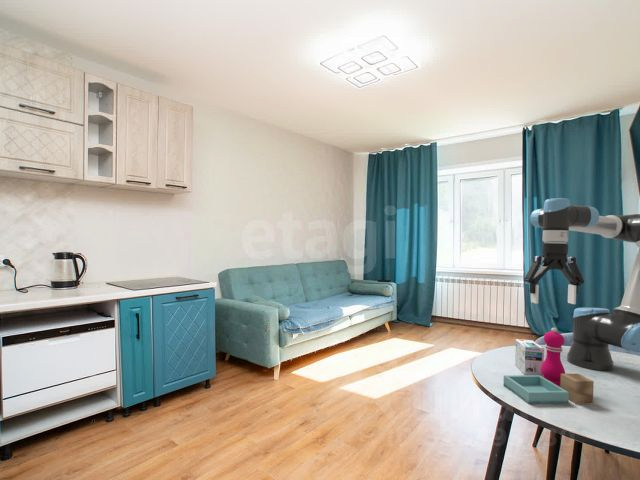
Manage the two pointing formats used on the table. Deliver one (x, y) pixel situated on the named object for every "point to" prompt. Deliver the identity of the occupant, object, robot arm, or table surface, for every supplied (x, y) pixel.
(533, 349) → the light bulb box
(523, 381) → the tray
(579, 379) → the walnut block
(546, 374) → the pepper mill
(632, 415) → the table surface
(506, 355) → the table surface
